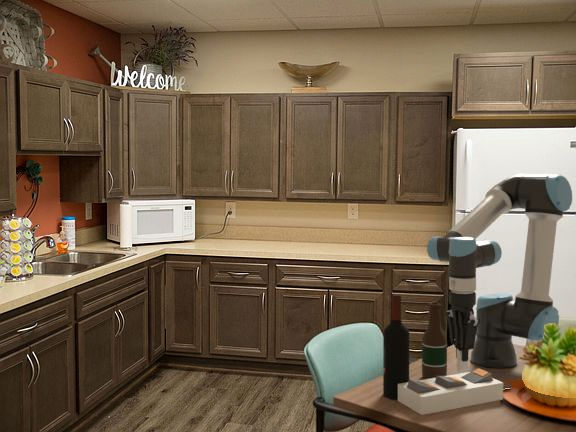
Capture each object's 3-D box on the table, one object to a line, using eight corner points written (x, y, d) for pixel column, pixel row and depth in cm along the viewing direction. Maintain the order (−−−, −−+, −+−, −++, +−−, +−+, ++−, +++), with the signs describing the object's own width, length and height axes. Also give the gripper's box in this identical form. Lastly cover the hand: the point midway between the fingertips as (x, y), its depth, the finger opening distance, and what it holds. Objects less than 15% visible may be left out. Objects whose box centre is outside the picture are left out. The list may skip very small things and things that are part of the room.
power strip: (496, 383, 209) (496, 367, 209) (524, 395, 198) (524, 378, 198) (397, 400, 195) (397, 383, 194) (421, 415, 184) (421, 397, 183)
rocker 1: (424, 390, 195) (426, 382, 195) (437, 396, 189) (439, 388, 189) (407, 386, 192) (409, 378, 192) (419, 393, 187) (421, 384, 187)
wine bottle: (392, 401, 194) (392, 299, 192) (378, 393, 201) (378, 294, 199) (414, 397, 197) (414, 296, 195) (399, 389, 204) (400, 291, 202)
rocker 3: (479, 374, 202) (477, 367, 202) (492, 380, 197) (491, 373, 196) (463, 383, 200) (461, 376, 200) (476, 389, 195) (474, 382, 194)
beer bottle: (447, 381, 211) (447, 306, 209) (421, 380, 212) (422, 305, 210) (446, 373, 218) (447, 301, 216) (421, 372, 220) (422, 300, 218)
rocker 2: (452, 384, 198) (453, 376, 199) (465, 391, 193) (466, 382, 193) (434, 382, 196) (436, 374, 196) (447, 389, 190) (449, 381, 190)
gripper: (437, 288, 198) (437, 366, 200) (466, 296, 186) (465, 379, 189) (458, 285, 201) (458, 362, 203) (488, 293, 189) (487, 375, 191)
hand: (462, 370), depth 196 cm, fingers closed
